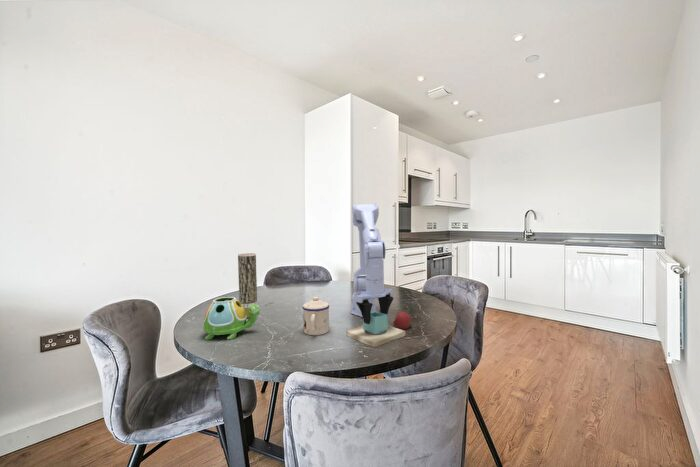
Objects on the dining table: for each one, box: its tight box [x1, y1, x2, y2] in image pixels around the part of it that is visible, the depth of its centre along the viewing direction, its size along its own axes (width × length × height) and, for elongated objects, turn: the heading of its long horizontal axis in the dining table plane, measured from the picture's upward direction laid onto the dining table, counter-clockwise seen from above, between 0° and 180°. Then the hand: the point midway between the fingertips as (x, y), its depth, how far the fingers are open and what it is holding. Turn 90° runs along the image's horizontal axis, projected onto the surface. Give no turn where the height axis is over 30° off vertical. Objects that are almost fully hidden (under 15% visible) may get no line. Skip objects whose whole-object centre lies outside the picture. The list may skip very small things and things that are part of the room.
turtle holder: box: [202, 296, 261, 341], centre depth 101 cm, size 12×18×12 cm
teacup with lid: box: [302, 296, 330, 336], centre depth 100 cm, size 12×9×12 cm
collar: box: [362, 310, 389, 334], centre depth 97 cm, size 6×6×5 cm
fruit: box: [392, 311, 418, 330], centre depth 104 cm, size 6×6×8 cm
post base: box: [346, 324, 406, 348], centre depth 97 cm, size 13×14×6 cm
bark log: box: [237, 252, 258, 319], centre depth 120 cm, size 7×7×25 cm
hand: (375, 320), depth 97 cm, fingers open, 7 cm apart
